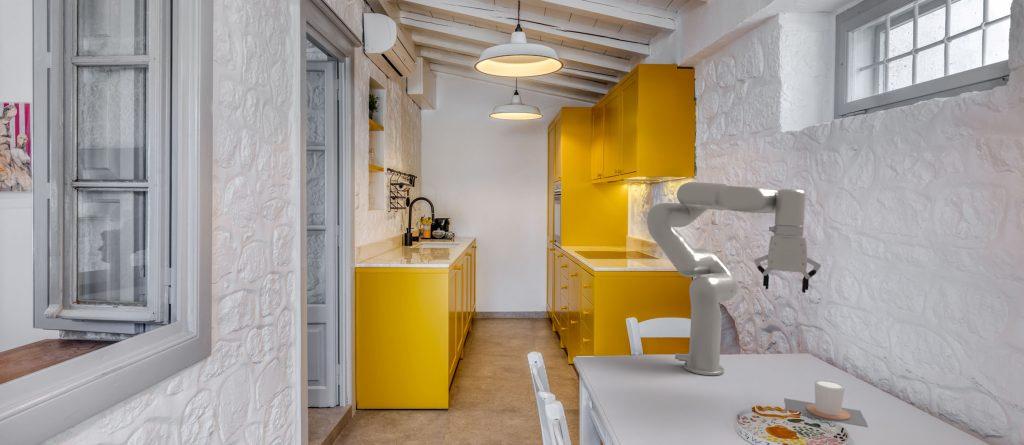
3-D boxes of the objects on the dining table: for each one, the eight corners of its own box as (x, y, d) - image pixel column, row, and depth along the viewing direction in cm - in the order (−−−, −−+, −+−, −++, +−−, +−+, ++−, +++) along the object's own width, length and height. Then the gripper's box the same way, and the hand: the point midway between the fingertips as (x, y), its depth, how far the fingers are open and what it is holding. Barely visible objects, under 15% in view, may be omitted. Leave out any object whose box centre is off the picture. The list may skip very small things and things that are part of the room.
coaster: (808, 415, 141) (808, 413, 141) (804, 402, 150) (805, 401, 150) (853, 423, 137) (853, 421, 137) (847, 409, 146) (847, 408, 146)
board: (786, 418, 142) (786, 413, 142) (784, 403, 153) (784, 398, 153) (868, 433, 135) (868, 427, 135) (859, 416, 146) (860, 410, 146)
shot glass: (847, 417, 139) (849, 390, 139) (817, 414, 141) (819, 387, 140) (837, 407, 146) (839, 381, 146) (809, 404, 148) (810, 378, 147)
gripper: (755, 230, 159) (752, 289, 160) (824, 234, 152) (820, 295, 153) (755, 229, 166) (752, 285, 167) (821, 233, 159) (817, 291, 160)
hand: (785, 290), depth 160 cm, fingers open, 9 cm apart
